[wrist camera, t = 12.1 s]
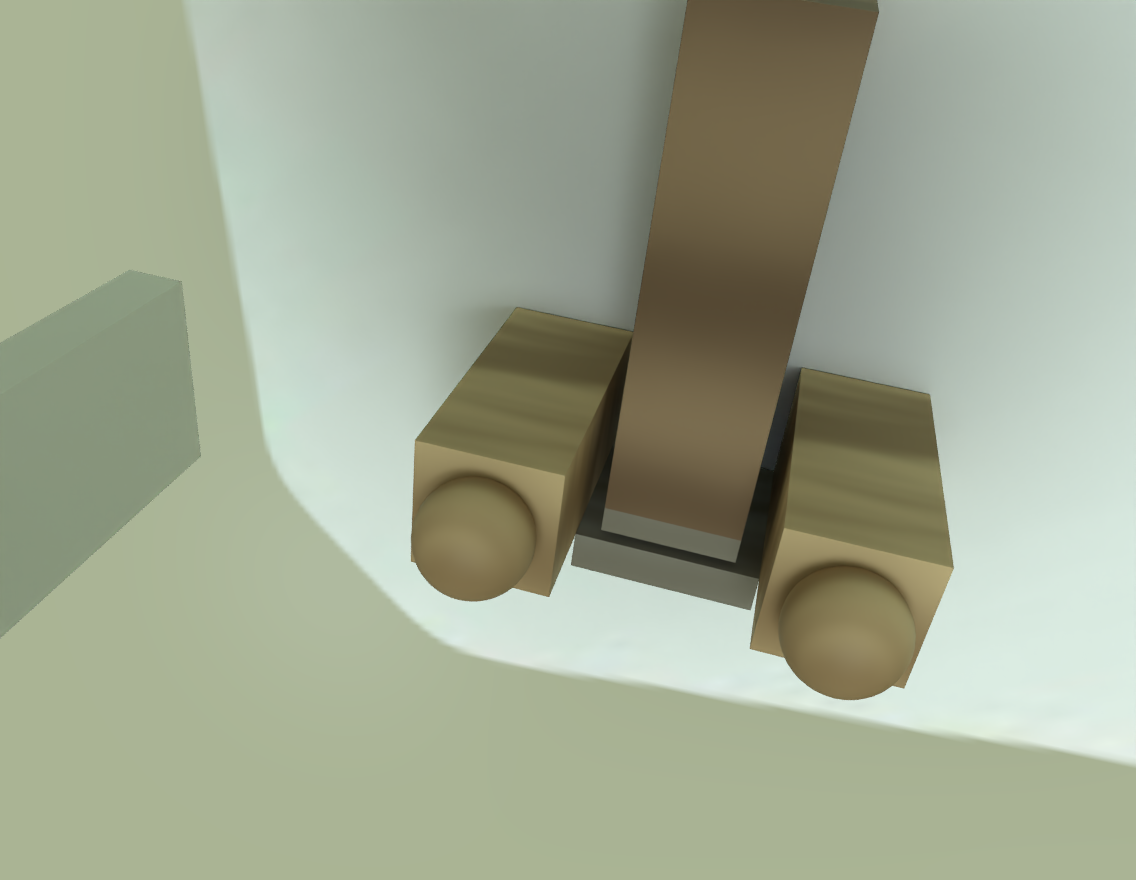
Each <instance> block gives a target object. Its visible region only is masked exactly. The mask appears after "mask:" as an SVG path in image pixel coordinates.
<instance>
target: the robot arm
mask: <svg viewBox="0 0 1136 880" xmlns="http://www.w3.org/2000/svg"><path fill="white" fill-rule="evenodd" d="M188 344H189V343H188V334H187V326H186V316H185V307H184V297H183V288H182V281H178V280H173V279H169V278H164V277H159V276H155V275H150V274H146V273H142V272H137V271H132V270H129V271H127V272H125V273H123V274H121V275H120V276H118V277H116V278H114V279H113V280H111V281H109V282H107V283H106V284H104V285H102V286H100V287H98V288H97V289H95V290H93V291H91V292H89V293H88V294H86V295H84V296H83V297H81V298H79V299H77V300H75V301H74V302H72V303H70V304H68V305H66V306H65V307H63V308H61V309H59V310H58V311H56V312H54V313H52V314H50V315H49V316H47V317H45V318H44V319H42V320H40V321H38V322H36V323H35V324H33V325H31V326H29V327H27V328H26V329H24V330H22V331H20V332H19V333H17V334H15V335H13V336H12V337H10V338H8V339H6V340H5V341H3V342H1V343H0V638H1V637H2V636H3V635H4V634H5V633H6V632H8V631H9V630H10V629H11V628H12V627H13V626H14V625H15V624H16V623H17V622H19V620H21V619H22V618H23V617H24V616H25V615H26V614H28V613H29V612H30V611H31V610H32V609H33V608H34V607H35V606H36V605H37V604H39V603H40V602H41V601H42V600H43V599H44V598H45V597H46V596H47V595H48V594H49V593H51V592H52V591H53V590H54V589H55V588H56V587H57V586H58V585H59V584H61V583H62V582H63V581H64V580H65V579H66V578H67V577H68V576H69V575H70V574H71V573H73V572H74V571H75V570H76V569H77V568H78V567H79V566H80V565H82V564H83V563H84V562H85V561H86V560H87V559H88V558H89V557H90V556H91V555H93V553H95V552H96V551H97V550H98V549H99V548H100V547H101V546H102V545H104V544H105V543H106V542H107V541H108V540H109V539H110V538H111V537H112V536H113V535H115V534H116V533H117V532H118V531H119V530H120V529H121V528H122V527H123V526H124V525H126V524H127V523H128V522H129V521H130V520H131V519H132V518H133V517H134V516H136V514H138V513H139V512H140V511H141V510H142V509H143V508H144V507H145V506H147V505H148V504H149V503H150V502H151V501H152V500H153V499H154V498H155V497H156V496H157V495H159V494H160V493H161V492H162V491H163V490H164V489H165V488H166V487H167V486H169V484H171V483H172V482H173V481H174V480H175V479H176V478H177V477H178V476H180V475H181V474H182V473H183V472H184V471H185V470H186V469H187V468H188V467H190V466H191V464H193V463H194V462H195V461H196V460H197V459H198V458H199V457H200V456H201V453H200V444H199V435H198V427H197V418H196V407H195V399H194V391H193V390H194V389H193V380H192V371H191V361H190V352H189V345H188Z"/></svg>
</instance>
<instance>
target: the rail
mask: <svg viewBox="0 0 1136 880" xmlns="http://www.w3.org/2000/svg"><path fill="white" fill-rule="evenodd" d="M878 14H879V10H878V3H877V0H688V1H687V7H686V13H685V19H684V25H683V32H682V38H681V44H680V50H679V56H678V62H677V68H676V74H675V81H674V87H673V93H672V99H671V105H670V111H669V117H668V123H667V130H666V136H665V142H664V148H663V154H662V160H661V166H660V172H659V179H658V185H657V191H656V197H655V203H654V209H653V215H652V221H651V228H650V234H649V240H648V246H647V252H646V258H645V264H644V270H643V277H642V283H641V289H640V295H639V301H638V307H637V313H636V319H635V326H634V332H633V338H632V344H631V350H630V356H629V362H628V368H627V375H626V381H625V387H624V393H623V399H622V405H621V411H620V417H619V424H618V430H617V436H616V442H615V448H614V454H613V460H612V466H611V473H610V479H609V485H608V491H607V497H606V503H605V509H604V515H603V522H602V528H601V530H604V531H608V532H612V533H616V534H620V535H624V536H628V537H633V538H637V539H641V540H645V541H649V542H653V543H657V544H661V545H665V546H669V547H673V548H677V549H681V550H686V551H690V552H694V553H698V554H702V555H706V556H710V557H714V558H718V559H722V560H726V561H730V562H734V563H736V559H737V555H738V551H739V547H740V543H741V539H742V536H743V532H744V528H745V524H746V520H747V516H748V513H749V509H750V505H751V501H752V497H753V493H754V490H755V486H756V482H757V478H758V474H759V470H760V467H761V463H762V459H763V455H764V451H765V447H766V444H767V440H768V436H769V432H770V428H771V424H772V420H773V417H774V413H775V409H776V405H777V401H778V397H779V394H780V390H781V386H782V382H783V378H784V374H785V371H786V367H787V363H788V359H789V355H790V351H791V348H792V344H793V340H794V336H795V332H796V328H797V325H798V321H799V317H800V313H801V309H802V305H803V301H804V298H805V294H806V290H807V286H808V282H809V278H810V275H811V271H812V267H813V263H814V259H815V255H816V252H817V248H818V244H819V240H820V236H821V232H822V229H823V225H824V221H825V217H826V213H827V209H828V206H829V202H830V198H831V194H832V190H833V186H834V183H835V179H836V175H837V171H838V167H839V163H840V159H841V156H842V152H843V148H844V144H845V140H846V136H847V133H848V129H849V125H850V121H851V117H852V113H853V110H854V106H855V102H856V98H857V94H858V90H859V87H860V83H861V79H862V75H863V71H864V67H865V64H866V60H867V56H868V52H869V48H870V44H871V40H872V37H873V33H874V29H875V25H876V21H877V17H878Z"/></svg>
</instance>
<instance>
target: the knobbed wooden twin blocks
mask: <svg viewBox="0 0 1136 880" xmlns="http://www.w3.org/2000/svg"><path fill="white" fill-rule="evenodd" d="M632 338H633V332H631V331H626V330H622V329H617V328H612V327H607V326H603V325H598V324H593V323H589V322H584V321H579V320H574V319H570V318H565V317H560V316H555V315H551V314H546V313H541V312H537V311H532V310H527V309H522V308H518V307H517V308H516V309H515V310H514V312H513V313H512V314H511V316H510V317H509V318H508V319H507V321H506V322H505V323H504V325H503V326H502V327H501V329H500V330H499V331H498V333H497V334H496V335H495V336H494V338H493V339H492V340H491V342H490V343H489V344H488V346H487V347H486V348H485V349H484V351H483V352H482V353H481V355H480V356H479V357H478V359H477V360H476V361H475V363H474V364H473V365H472V366H471V368H470V369H469V370H468V372H467V373H466V374H465V376H464V377H463V378H462V380H461V381H460V382H459V383H458V385H457V386H456V387H455V389H454V390H453V391H452V393H451V394H450V395H449V396H448V398H447V399H446V400H445V402H444V403H443V404H442V406H441V407H440V408H439V410H438V411H437V412H436V413H435V415H434V416H433V417H432V419H431V420H430V421H429V423H428V424H427V425H426V427H425V428H424V429H423V430H422V432H421V433H420V434H419V436H418V437H417V438H416V440H415V453H414V483H413V513H412V534H411V562H415V563H416V565H417V567H418V569H419V571H420V572H421V574H422V575H423V577H424V578H425V579H426V580H427V581H428V583H429V584H430V585H431V586H433V587H434V588H435V589H436V590H438V591H439V592H441V593H443V594H445V595H446V596H449V597H451V598H454V599H458V600H463V601H483V600H488V599H492V598H495V597H497V596H499V595H502V594H504V593H505V592H507V591H508V590H510V589H511V588H516V589H520V590H524V591H527V592H531V593H535V594H539V595H543V596H547V597H549V596H550V594H551V591H552V589H553V586H554V584H555V582H556V579H557V577H558V574H559V572H560V570H561V567H562V565H563V563H564V560H565V558H566V555H567V553H568V551H569V548H570V546H571V543H572V541H573V539H574V536H575V541H574V548H573V555H572V562H571V565H572V566H576V567H580V568H584V569H588V570H592V571H596V572H600V573H604V574H608V575H612V576H616V577H620V578H624V579H628V580H632V581H636V582H640V583H644V584H648V585H652V586H656V587H660V588H664V589H668V590H672V591H676V592H680V593H684V594H688V595H692V596H696V597H700V598H704V599H708V600H712V601H716V602H719V603H723V604H727V605H731V606H735V607H739V608H743V609H747V610H751V607H752V603H753V600H754V596H755V592H756V589H757V585H758V592H757V599H756V606H755V614H754V621H753V628H752V636H751V643H750V649H753V650H756V651H760V652H764V653H768V654H772V655H776V656H780V657H784V658H785V659H786V661H787V663H788V665H789V666H790V668H791V669H792V671H793V672H794V673H795V675H796V676H797V677H798V678H799V679H800V680H801V681H803V682H804V683H805V684H806V685H807V686H809V687H810V688H812V689H813V690H815V691H817V692H819V693H821V694H823V695H826V696H829V697H832V698H836V699H842V700H859V699H865V698H869V697H872V696H875V695H877V694H880V693H882V692H883V691H885V690H887V689H888V688H890V687H891V686H896V687H900V688H904V687H905V685H906V683H907V680H908V678H909V675H910V673H911V671H912V668H913V666H914V663H915V661H916V658H917V656H918V654H919V651H920V649H921V646H922V644H923V641H924V639H925V637H926V634H927V632H928V629H929V627H930V625H931V622H932V620H933V617H934V615H935V612H936V610H937V608H938V605H939V603H940V600H941V598H942V595H943V593H944V591H945V588H946V586H947V583H948V581H949V579H950V576H951V574H952V571H953V569H954V566H953V559H952V552H951V545H950V537H949V530H948V523H947V515H946V508H945V501H944V493H943V486H942V479H941V472H940V464H939V457H938V450H937V442H936V435H935V428H934V420H933V413H932V406H931V399H930V395H929V394H924V393H919V392H915V391H910V390H905V389H900V388H896V387H891V386H886V385H881V384H877V383H872V382H867V381H863V380H858V379H853V378H848V377H844V376H839V375H834V374H829V373H825V372H820V371H815V370H811V369H806V368H802V369H801V373H800V376H799V380H798V384H797V388H796V391H795V395H794V399H793V402H792V406H791V410H790V414H789V417H788V421H787V425H786V428H785V432H784V436H783V440H782V443H781V447H780V451H779V454H778V458H777V462H776V466H775V469H774V471H770V470H766V469H762V468H760V470H759V474H758V478H757V482H756V486H755V490H754V493H753V497H752V501H751V505H750V509H749V513H748V516H747V520H746V524H745V528H744V532H743V536H742V539H741V543H740V547H739V551H738V555H737V559H736V563H734V562H730V561H726V560H722V559H718V558H714V557H710V556H706V555H702V554H698V553H694V552H690V551H686V550H681V549H677V548H673V547H669V546H665V545H661V544H657V543H653V542H649V541H645V540H641V539H637V538H633V537H628V536H624V535H620V534H616V533H612V532H608V531H604V530H601V528H602V522H603V515H604V509H605V503H606V497H607V491H608V485H609V479H610V473H611V466H612V460H613V454H614V448H615V442H616V436H617V430H618V424H619V417H620V411H621V405H622V399H623V393H624V387H625V381H626V375H627V368H628V362H629V356H630V350H631V344H632ZM758 582H759V584H758Z"/></svg>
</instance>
